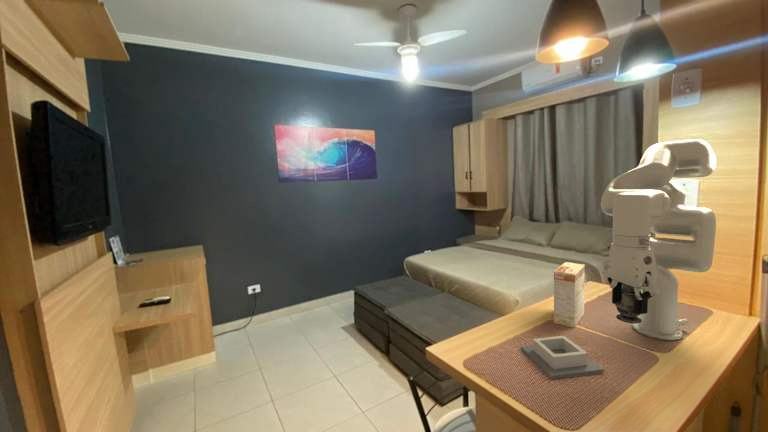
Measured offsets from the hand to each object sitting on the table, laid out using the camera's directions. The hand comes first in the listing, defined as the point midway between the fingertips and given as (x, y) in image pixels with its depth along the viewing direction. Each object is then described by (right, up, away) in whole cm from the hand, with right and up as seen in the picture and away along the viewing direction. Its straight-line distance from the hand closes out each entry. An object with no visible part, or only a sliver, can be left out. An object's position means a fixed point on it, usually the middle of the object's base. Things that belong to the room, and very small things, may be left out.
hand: (629, 307), depth 82 cm
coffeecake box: (+5, -15, +35) cm, 38 cm away
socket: (-13, -18, +9) cm, 24 cm away
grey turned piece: (0, -3, 0) cm, 3 cm away
